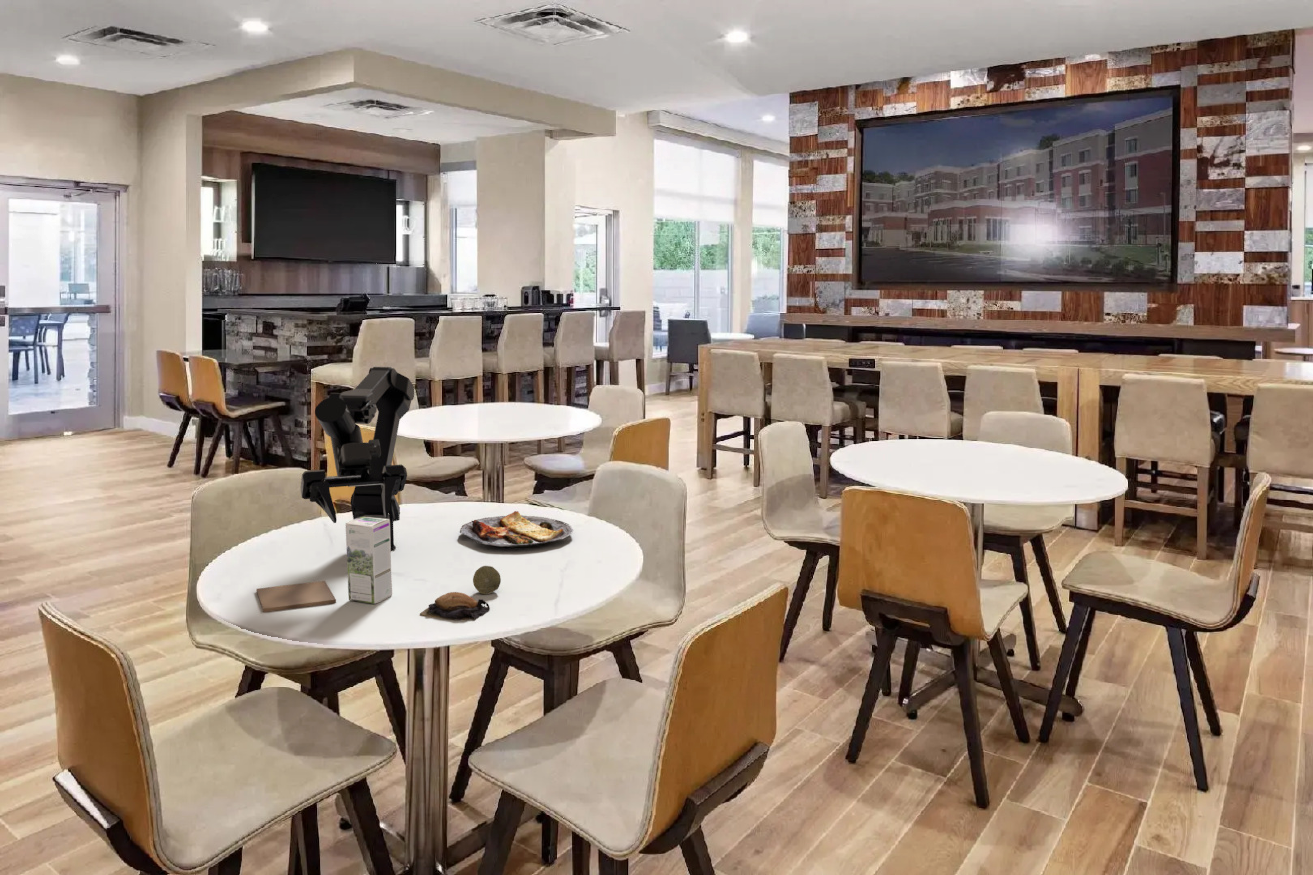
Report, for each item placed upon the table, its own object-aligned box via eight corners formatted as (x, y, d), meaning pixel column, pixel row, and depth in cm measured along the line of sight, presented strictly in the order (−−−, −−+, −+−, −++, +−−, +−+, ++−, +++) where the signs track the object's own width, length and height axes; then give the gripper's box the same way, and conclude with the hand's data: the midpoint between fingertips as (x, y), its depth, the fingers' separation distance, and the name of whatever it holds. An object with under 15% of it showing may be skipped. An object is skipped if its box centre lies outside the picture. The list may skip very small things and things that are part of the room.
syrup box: (393, 595, 179) (391, 517, 177) (374, 605, 174) (371, 525, 171) (366, 591, 181) (364, 514, 179) (346, 601, 175) (344, 522, 173)
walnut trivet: (325, 583, 185) (324, 580, 185) (335, 602, 174) (335, 599, 174) (256, 591, 180) (256, 588, 179) (263, 612, 169) (263, 608, 169)
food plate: (442, 532, 223) (442, 517, 222) (529, 518, 238) (529, 504, 237) (500, 560, 204) (501, 544, 203) (591, 544, 219) (591, 528, 218)
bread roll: (416, 619, 169) (416, 599, 168) (439, 604, 177) (439, 584, 176) (473, 626, 166) (473, 605, 165) (494, 609, 174) (494, 589, 173)
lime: (504, 591, 182) (504, 565, 181) (484, 598, 179) (483, 571, 178) (488, 586, 185) (488, 561, 184) (468, 592, 182) (467, 566, 181)
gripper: (300, 427, 178) (311, 499, 170) (403, 422, 186) (419, 491, 179) (296, 463, 186) (306, 533, 178) (395, 456, 195) (409, 523, 187)
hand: (361, 519), depth 180 cm, fingers open, 9 cm apart
